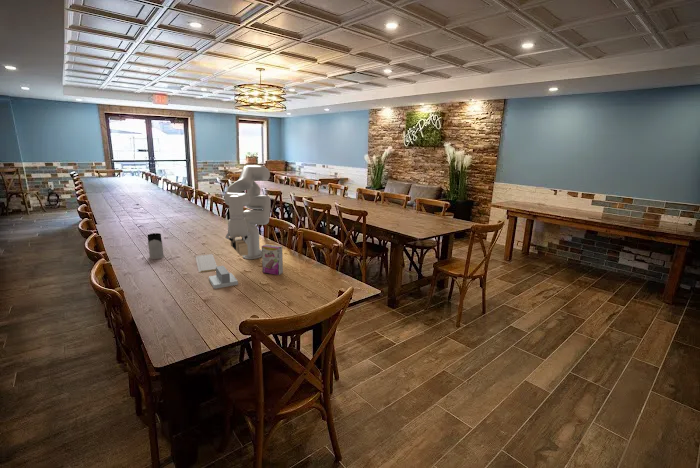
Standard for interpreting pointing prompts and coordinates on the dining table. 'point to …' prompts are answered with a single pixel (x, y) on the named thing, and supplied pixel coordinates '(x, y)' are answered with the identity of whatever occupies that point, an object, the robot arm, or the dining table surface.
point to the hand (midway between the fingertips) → (238, 247)
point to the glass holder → (155, 246)
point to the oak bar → (240, 246)
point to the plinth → (215, 281)
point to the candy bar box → (272, 259)
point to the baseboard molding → (206, 263)
